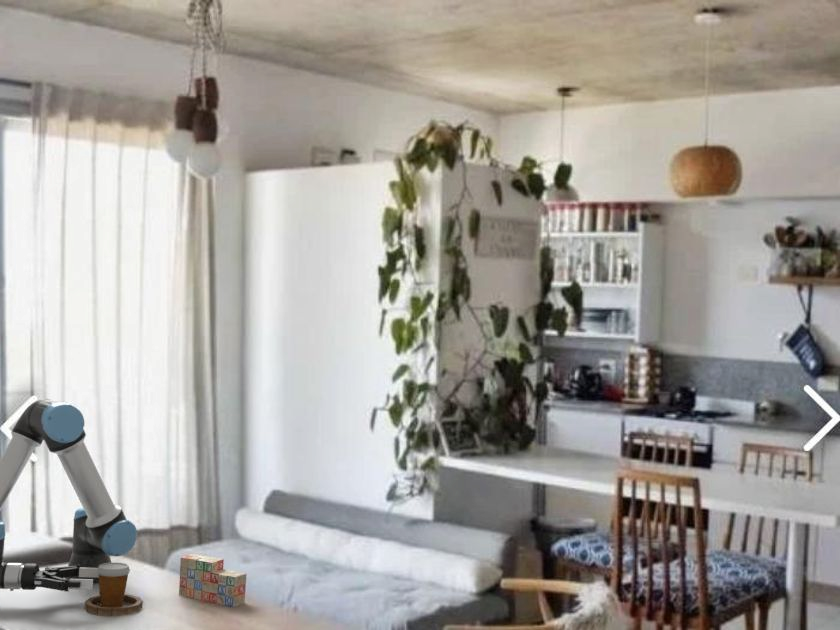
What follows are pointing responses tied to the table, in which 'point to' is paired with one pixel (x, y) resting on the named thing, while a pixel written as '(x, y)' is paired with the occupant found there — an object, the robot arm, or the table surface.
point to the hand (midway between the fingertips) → (97, 578)
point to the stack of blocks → (211, 581)
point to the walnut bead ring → (114, 611)
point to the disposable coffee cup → (112, 583)
